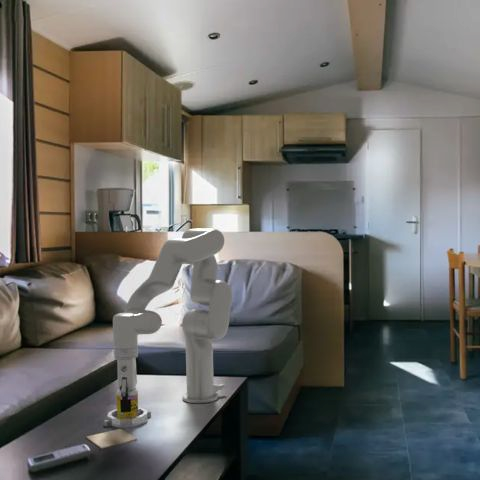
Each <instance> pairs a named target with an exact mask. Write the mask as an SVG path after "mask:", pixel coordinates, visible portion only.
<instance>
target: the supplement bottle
mask: <svg viewBox="0 0 480 480" xmlns="http://www.w3.org/2000/svg"><path fill="white" fill-rule="evenodd" d="M126 389H128V388H126ZM127 393H128V392H127ZM120 399H121V391H120V390H119V389H118V388H117V390H116V409H117V418H132V417H137V416H138V408H139V393H138V389H137V387H135V389H134V390H132V389H130V399H131V412H121V408H120Z"/></svg>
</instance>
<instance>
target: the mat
mask: <svg viewBox="0 0 480 480" xmlns="http://www.w3.org/2000/svg"><path fill="white" fill-rule="evenodd" d="M85 439H87V440H88V441H90V442H91V443H93V444H94V445H95V446H96V447H99V448H100V449H105V448H110V447H113V446H118V445H122V444H126V443H129V442H133V441H137V440H138V438H137V437H135V436H134V435H132V434H131V433H129V432H127V431H125V430H123V429H122V428H118V429H114V430H110V431H105V432H101V433H95V434H93V435H88V436H86V437H85Z"/></svg>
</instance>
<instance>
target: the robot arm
mask: <svg viewBox="0 0 480 480" xmlns="http://www.w3.org/2000/svg"><path fill="white" fill-rule="evenodd" d="M224 244H225V237H224V235H223V233H222V232H221V231H220V230H219V229H215V228H190V229H187V230H185V231H184V232H183V234H182V236H181V238H171V239H168V240H166V241H165V242H164V243H163V245H162V247H161V249H160V251H159V254H158V256H157V259H156V261H155V263H154V265H153V268H152V270H151V272H150V274H149V276H148V277H147V278H146V279H145V281H143V283H141V284H140V285H139V287H137V288H136V289H135V290H134V292H132V294H131V296H130V297H129V299H128V302H127V303H126V306H125V309H124V311H123V312H119V313H116V314H114V315H113V317H112V334H113V335H112V336H113V337H112V338H113V339H112V341H113V343H112V344H113V359H115V360H117V362H116V363H117V390H118V389H119V390H120V391H121V399H120V408H121V412H131V399H130V389H132V390H134V389H135V388H137V384H138V379H137V378H138V376H137V361H136V358H138V356H139V351H138V350H139V346H138V345H139V344H138V343H139V342H138V341H139V340H138V336H139V335H153V334H155V333H157V332H158V331H159V330H160V329H161V327H162V325H163V324H162V323H163V320H162V317H161V316H160V314H159V313H157V312H155V310H154V311H153V310H148V309H147V307H148V305H149V304H150V302H151V301H152V300H154V299H155V298H156V297H158V296H159V295H162V294H164V293H166V292H167V291H169V290H171V289H173V287H174V286H175V283H176V280H177V278H178V275H179V273H180V271H181V269H182V266H183V265H192V266H193V269H192V275H191V276H192V277H191V284H190V292H189V293H190V295H189V298H190V300H191V302H192V303H193V304H195V305H197V306H200V307H201V306H202V307H208V309H199V308H196V309H195V308H194V309H190V310H188V311H187V312H186V313H185V314H184V315H183V317H182V321H181V322H182V324H181V326H182V332H183V336H184V341H185V342H184V343H185V364H186V365H185V366H186V369H185V372H186V373H185V374H186V393H184V394H183V395H182V400H183V401H184V402H186V403H190V404H204V403H206V404H207V403H211V402H214V401H215V402H216V400H218V399H219V393H218V392H219V391H222V390H225V389H226V384H224V383H221V384H218V383H214V349H213V344H212V341H211V340H222V338H223V337H225V336H226V335H227V332H228V329H229V325H230V318H231V310H232V302H233V293H232V289H231V287H230V285H229V283H228V282H226V281H225V280H221V279H217V274H218V262H217V259H216V257H215V255H217V254H218V253H219V252H221V250H223V248H224ZM126 388H128V389H126ZM127 392H128V393H127Z"/></svg>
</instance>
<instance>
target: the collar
mask: <svg viewBox="0 0 480 480" xmlns="http://www.w3.org/2000/svg"><path fill="white" fill-rule="evenodd" d="M151 417H152V411H150V410H147V409H145V408H143V407H138V416H137V417H132V418H117V408H116V409H113V410H111V411H108V412H107V417H106V418H107V419H104V420H103V426H105V427H114V428H119V429H122V428H133V427H139V426H142V425H144V424H145V423H147V422H148V420H149V419H148V418H151Z"/></svg>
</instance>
